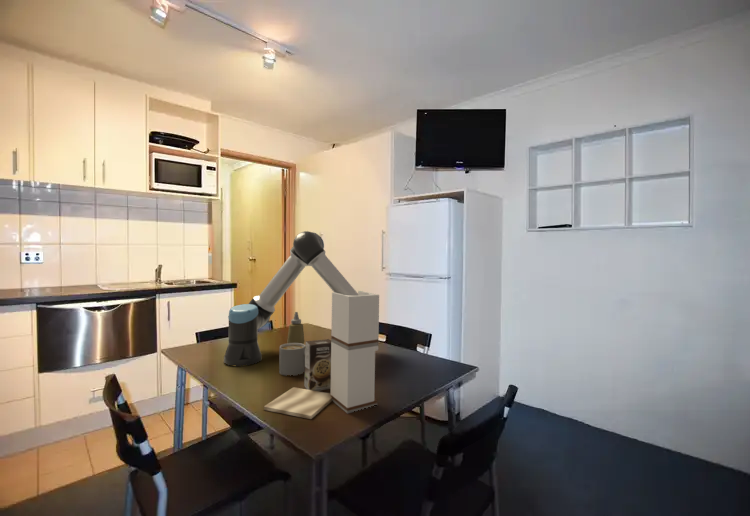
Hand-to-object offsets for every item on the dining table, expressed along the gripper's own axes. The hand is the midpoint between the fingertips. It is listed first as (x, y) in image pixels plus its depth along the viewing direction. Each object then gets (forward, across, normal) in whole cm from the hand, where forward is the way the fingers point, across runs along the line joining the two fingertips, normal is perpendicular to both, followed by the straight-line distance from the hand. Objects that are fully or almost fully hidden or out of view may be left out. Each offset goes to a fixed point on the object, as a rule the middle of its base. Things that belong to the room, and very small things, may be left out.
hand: (333, 349), depth 132 cm
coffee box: (+10, 0, -11) cm, 15 cm away
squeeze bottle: (-28, +33, -11) cm, 45 cm away
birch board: (+23, -1, -11) cm, 26 cm away
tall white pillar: (+17, -16, -12) cm, 26 cm away
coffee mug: (-1, +16, -11) cm, 20 cm away
